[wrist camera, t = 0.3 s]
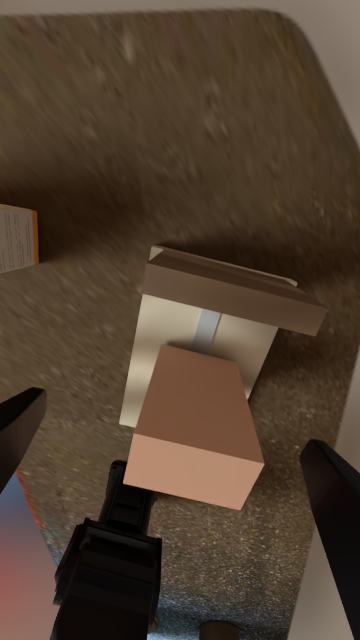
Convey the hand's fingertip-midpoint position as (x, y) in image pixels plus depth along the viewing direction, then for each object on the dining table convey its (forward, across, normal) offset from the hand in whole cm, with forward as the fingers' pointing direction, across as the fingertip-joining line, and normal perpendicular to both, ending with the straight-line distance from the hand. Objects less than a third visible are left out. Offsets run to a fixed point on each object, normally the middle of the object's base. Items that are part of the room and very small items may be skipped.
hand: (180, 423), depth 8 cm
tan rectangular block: (+13, -3, +7) cm, 15 cm away
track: (+15, -3, +6) cm, 16 cm away
